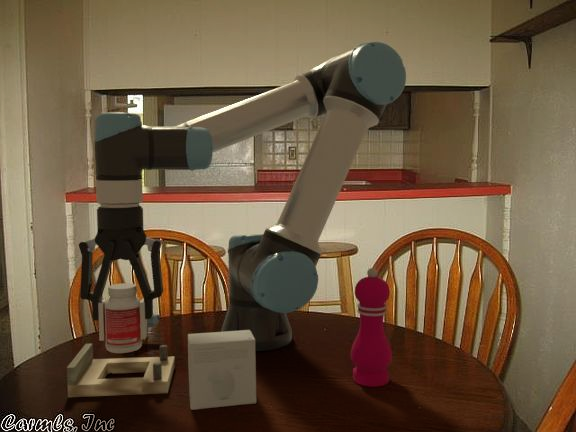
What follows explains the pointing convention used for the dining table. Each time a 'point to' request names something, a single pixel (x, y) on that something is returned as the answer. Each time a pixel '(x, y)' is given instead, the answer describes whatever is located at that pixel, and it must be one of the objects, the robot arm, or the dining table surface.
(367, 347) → the pepper mill
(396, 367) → the dining table surface
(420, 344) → the dining table surface
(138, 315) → the pill bottle
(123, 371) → the jig
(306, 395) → the dining table surface
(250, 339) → the skincare box
